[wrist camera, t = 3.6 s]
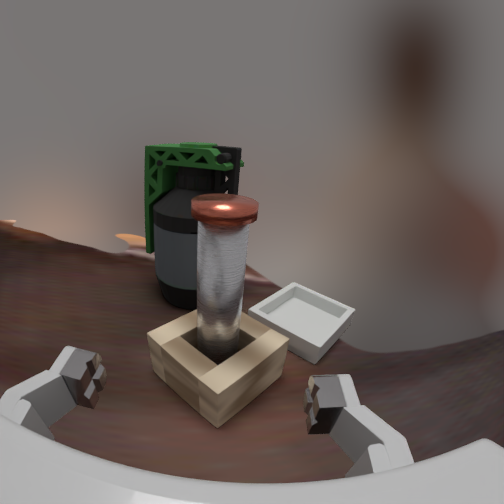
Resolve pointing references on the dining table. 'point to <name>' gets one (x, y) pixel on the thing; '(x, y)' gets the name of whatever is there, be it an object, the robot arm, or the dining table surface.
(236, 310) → the pin
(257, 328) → the block
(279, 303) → the tray
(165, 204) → the grenade
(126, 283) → the dining table surface
